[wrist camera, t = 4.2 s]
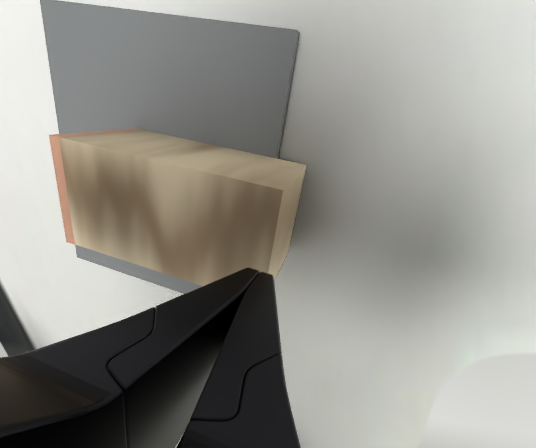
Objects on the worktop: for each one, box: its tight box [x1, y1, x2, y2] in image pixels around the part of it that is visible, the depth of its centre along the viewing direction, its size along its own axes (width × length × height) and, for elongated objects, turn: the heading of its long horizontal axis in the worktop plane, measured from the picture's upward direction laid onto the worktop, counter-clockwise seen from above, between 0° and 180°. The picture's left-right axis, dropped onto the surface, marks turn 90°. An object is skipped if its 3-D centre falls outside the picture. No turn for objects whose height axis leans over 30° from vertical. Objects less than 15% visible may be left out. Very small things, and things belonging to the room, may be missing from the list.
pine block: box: [49, 128, 307, 286], centre depth 14 cm, size 5×5×10 cm
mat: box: [40, 0, 299, 294], centre depth 17 cm, size 16×14×1 cm
